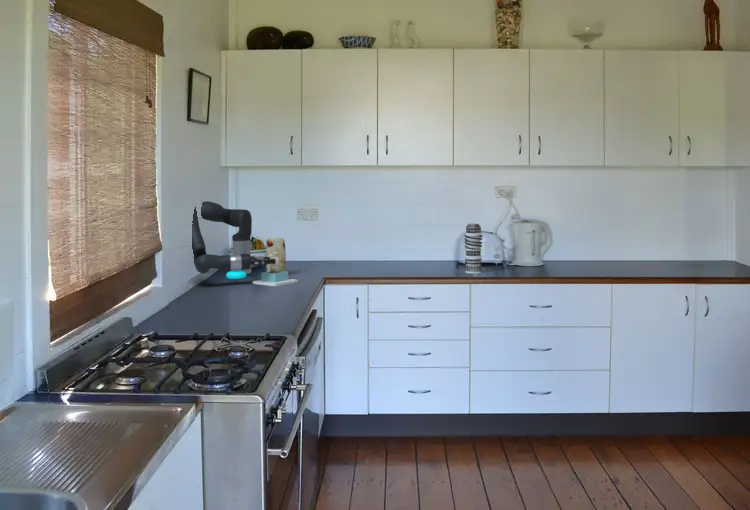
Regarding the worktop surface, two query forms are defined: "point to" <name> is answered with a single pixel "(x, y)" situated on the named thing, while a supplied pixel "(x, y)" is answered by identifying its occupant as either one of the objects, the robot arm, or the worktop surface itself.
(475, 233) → the decorative candle
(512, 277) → the worktop surface
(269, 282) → the socket block
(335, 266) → the worktop surface
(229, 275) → the donuts
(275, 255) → the birch peg
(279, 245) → the food model
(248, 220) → the robot arm
